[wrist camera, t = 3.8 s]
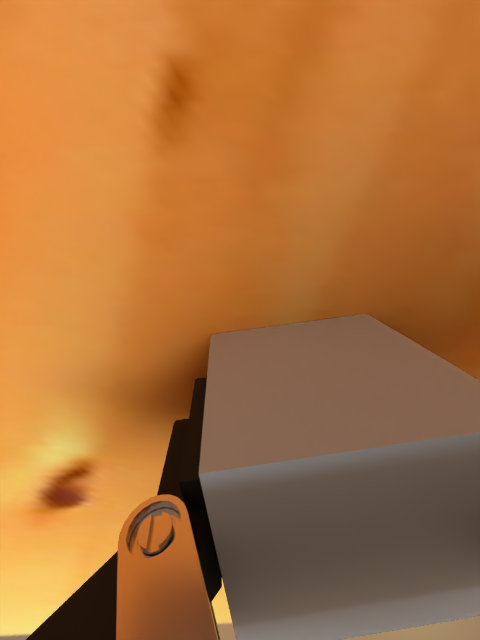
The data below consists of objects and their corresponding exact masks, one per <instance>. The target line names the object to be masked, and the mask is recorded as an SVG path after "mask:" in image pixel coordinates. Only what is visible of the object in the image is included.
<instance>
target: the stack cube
mask: <svg viewBox="0 0 480 640" xmlns="http://www.w3.org/2000/svg"><path fill="white" fill-rule="evenodd" d="M199 478H200V482H201V487H202V491H203V495H204V500H205V504H206V508H207V513H208V517H209V522H210V526H211V530H212V535H213V539H214V544H215V548H216V552H217V557H218V561H219V566H220V570H221V574H222V579H223V583H224V587H225V592H226V596H227V601H228V605H229V609H230V614H231V618H232V623H233V627H234V631H235V636H236V640H341V639H347V638H353V637H359V636H365V635H370V634H376V633H382V632H388V631H394V630H400V629H406V628H411V627H417V626H424V625H429V624H435V623H441V622H447V621H453V620H459V619H464V618H471V617H477V616H480V380H478V379H477V378H475V377H473V376H471V375H470V374H468V373H466V372H465V371H463V370H461V369H460V368H458V367H456V366H455V365H453V364H451V363H450V362H448V361H446V360H444V359H443V358H441V357H439V356H438V355H436V354H434V353H433V352H431V351H429V350H428V349H426V348H424V347H422V346H421V345H419V344H417V343H416V342H414V341H412V340H411V339H409V338H407V337H406V336H404V335H402V334H401V333H399V332H397V331H395V330H394V329H392V328H390V327H389V326H387V325H385V324H384V323H382V322H380V321H379V320H377V319H375V318H374V317H372V316H370V315H368V314H359V315H352V316H344V317H337V318H329V319H322V320H314V321H307V322H299V323H292V324H284V325H277V326H269V327H262V328H254V329H247V330H239V331H232V332H224V333H217V334H211V337H210V348H209V360H208V372H207V383H206V395H205V406H204V418H203V429H202V441H201V452H200V464H199Z"/></svg>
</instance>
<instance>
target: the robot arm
mask: <svg viewBox="0 0 480 640" xmlns="http://www.w3.org/2000/svg"><path fill="white" fill-rule="evenodd" d="M206 383H207V377H206V378H199V379H196V380H195V385H194V392H193V398H192V404H191V410H190V417H189V419H183V420H176V421H175V423H174V426H173V430H172V434H171V438H170V443H169V447H168V451H167V456H166V460H165V464H164V468H163V473H162V477H161V481H160V486H159V490H158V494H157V496H155V497H152V498H150V499H148V500H146V501H145V502H143V503H141V504H140V505H139V506H138V507H137V508H136V509H135V510H134V511H132V513H131V514H130V515H129V517H128V518H127V520H126V521H125V523H124V525H123V527H122V529H121V532H120V535H119V541H118V551H117V552H116V553H115V554H114V555H113V556H112V557H111V558H110V559H109V560H108V561H107V562H106V563H105V564H104V565H103V566H102V567H101V568H100V569H99V570H98V571H97V572H96V573H95V574H94V575H92V576H91V577H90V578H89V579H88V580H87V581H86V582H85V583H84V584H83V585H82V586H81V587H80V588H79V589H78V590H77V591H76V592H75V593H74V594H73V595H72V596H71V597H70V598H69V599H68V600H67V601H65V602H64V603H63V604H62V605H61V606H60V607H59V608H58V609H57V610H56V611H55V612H54V613H53V614H52V615H51V616H50V617H49V618H48V619H47V620H46V621H45V622H44V623H43V624H42V625H41V626H39V627H38V628H37V629H36V630H35V631H34V632H33V633H32V634H31V635H30V636H29V637H28V638H27V639H26V640H221V639H220V635H219V631H218V627H217V623H216V618H215V614H214V610H213V606H212V602H211V601H212V600H213V599H214V597H215V596H216V594H217V593H218V591H219V590H220V588H221V587H222V574H221V570H220V566H219V561H218V557H217V552H216V548H215V544H214V539H213V535H212V530H211V526H210V522H209V517H208V513H207V508H206V504H205V500H204V495H203V491H202V487H201V482H200V478H199V464H200V452H201V441H202V429H203V418H204V406H205V395H206Z"/></svg>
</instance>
